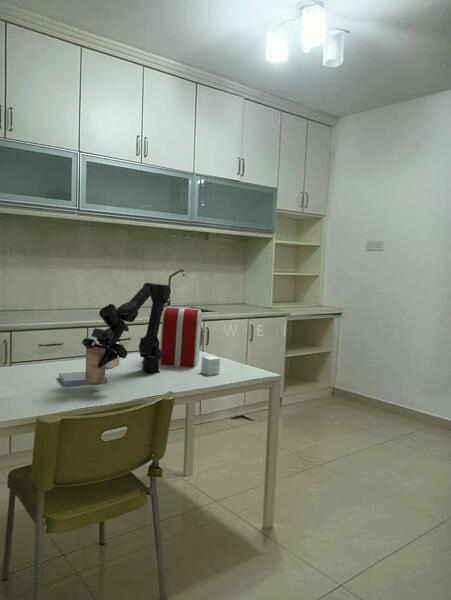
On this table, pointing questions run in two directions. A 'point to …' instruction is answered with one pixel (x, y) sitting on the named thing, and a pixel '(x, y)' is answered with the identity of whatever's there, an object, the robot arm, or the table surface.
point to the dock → (74, 378)
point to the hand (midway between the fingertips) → (92, 366)
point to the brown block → (94, 366)
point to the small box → (113, 362)
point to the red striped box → (180, 336)
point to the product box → (210, 365)
